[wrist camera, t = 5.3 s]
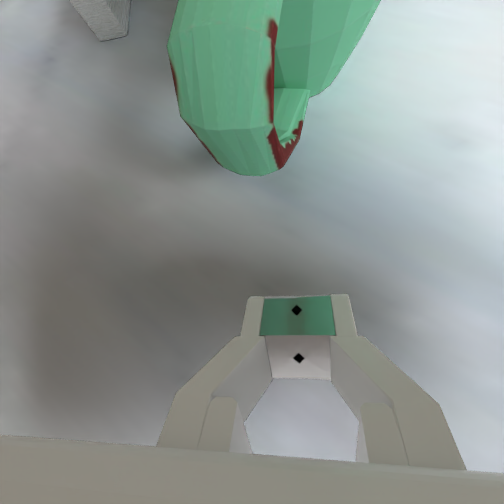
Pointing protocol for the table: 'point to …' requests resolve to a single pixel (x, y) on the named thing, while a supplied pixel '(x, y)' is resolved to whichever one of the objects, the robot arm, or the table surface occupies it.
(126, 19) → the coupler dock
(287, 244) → the table surface
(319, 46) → the mug
